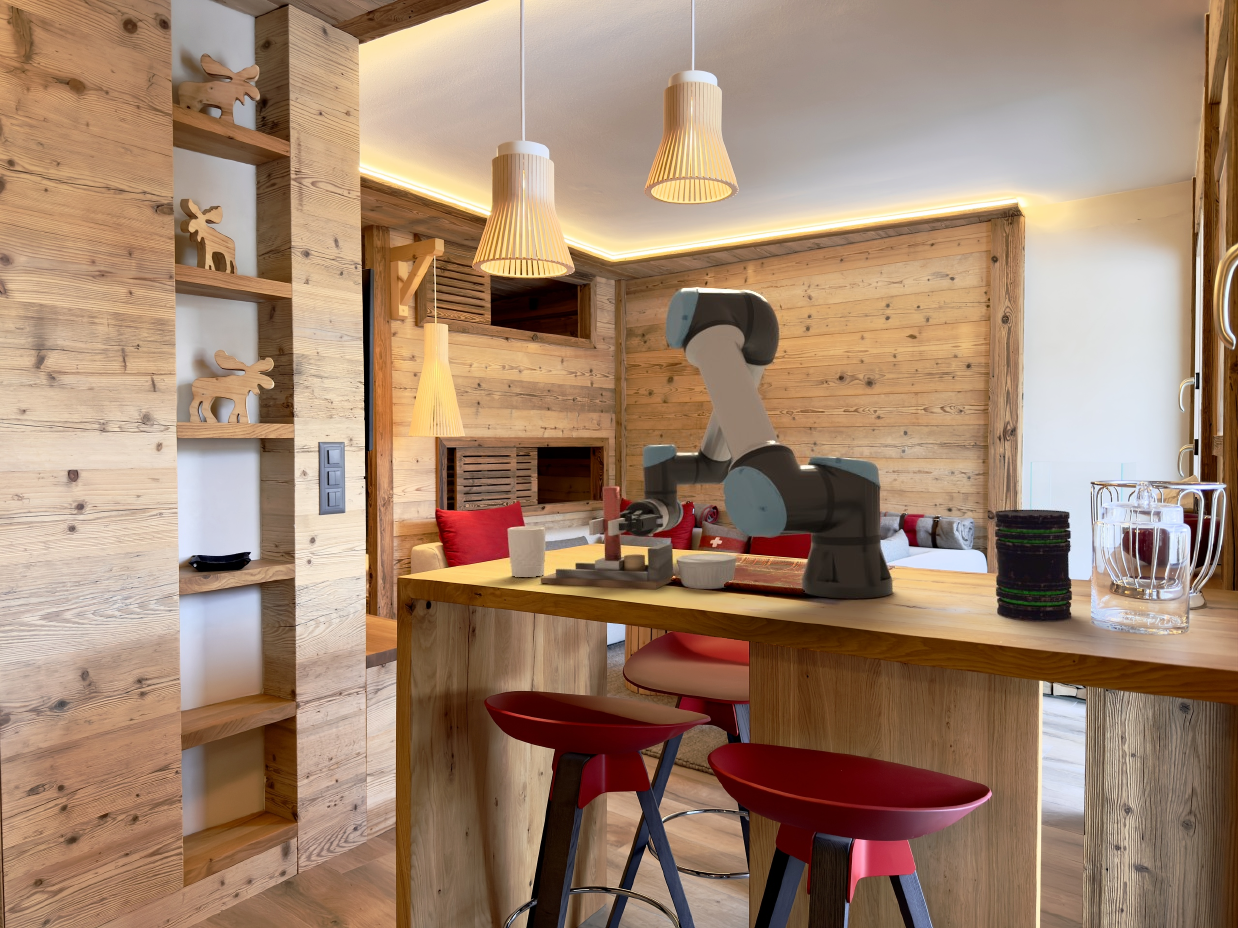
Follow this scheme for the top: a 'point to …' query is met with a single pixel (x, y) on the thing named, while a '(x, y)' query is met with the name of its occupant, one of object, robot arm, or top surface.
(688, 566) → the ramekin
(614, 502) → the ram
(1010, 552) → the dark brown cylinder
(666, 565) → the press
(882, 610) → the top surface
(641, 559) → the nut
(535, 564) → the white cup
